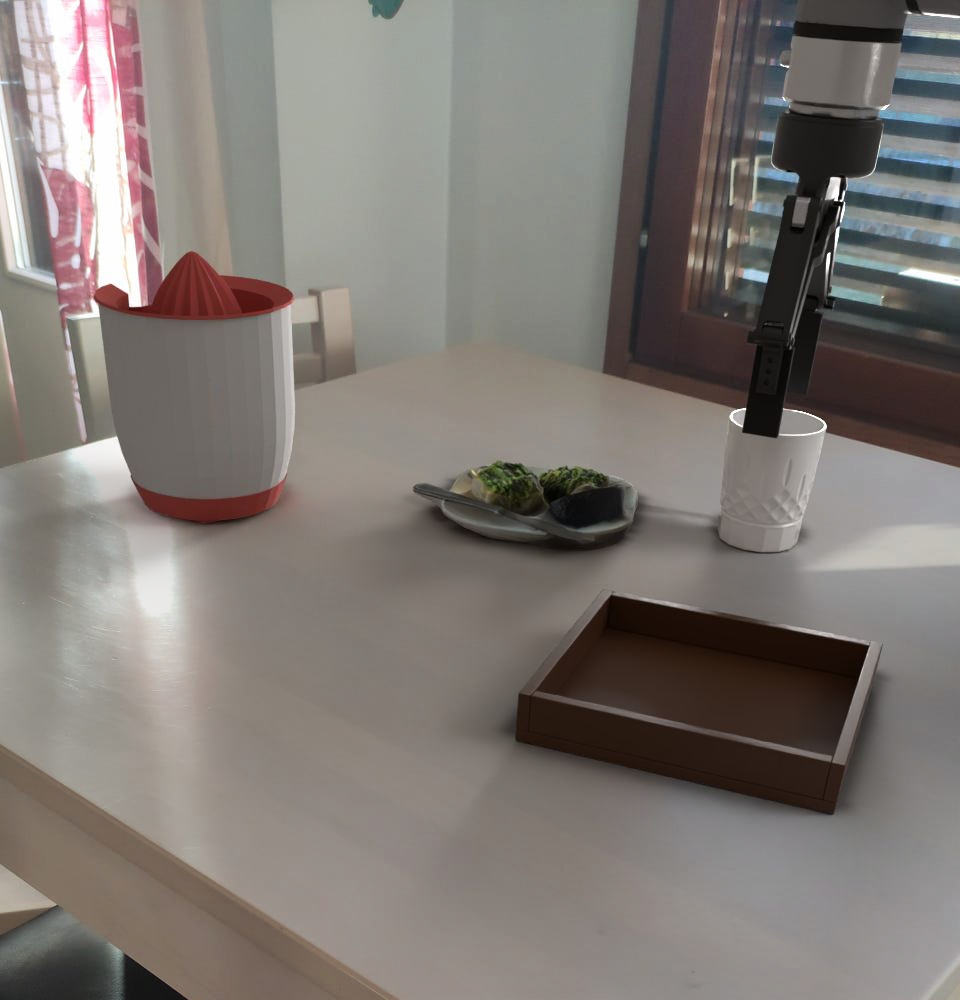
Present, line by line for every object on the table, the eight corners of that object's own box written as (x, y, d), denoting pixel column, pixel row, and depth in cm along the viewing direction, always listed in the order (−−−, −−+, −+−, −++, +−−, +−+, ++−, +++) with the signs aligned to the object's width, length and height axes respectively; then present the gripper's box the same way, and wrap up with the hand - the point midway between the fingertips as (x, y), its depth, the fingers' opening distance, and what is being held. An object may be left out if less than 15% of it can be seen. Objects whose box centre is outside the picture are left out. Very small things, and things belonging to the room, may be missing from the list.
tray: (872, 687, 86) (883, 643, 84) (833, 815, 72) (845, 766, 71) (598, 631, 91) (603, 588, 90) (514, 740, 78) (518, 693, 76)
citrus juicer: (212, 456, 120) (194, 224, 108) (339, 503, 111) (334, 255, 99) (70, 493, 110) (34, 242, 98) (196, 549, 101) (172, 279, 89)
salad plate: (389, 539, 104) (389, 484, 102) (438, 472, 119) (439, 422, 116) (620, 566, 102) (627, 511, 99) (642, 495, 116) (648, 444, 113)
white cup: (727, 557, 104) (747, 435, 99) (699, 522, 111) (716, 406, 105) (817, 555, 106) (842, 435, 100) (784, 521, 112) (805, 406, 106)
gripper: (809, 95, 101) (760, 370, 113) (745, 118, 81) (695, 446, 94) (904, 103, 99) (845, 382, 111) (862, 129, 79) (795, 463, 92)
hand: (776, 412), depth 102 cm, fingers open, 13 cm apart
